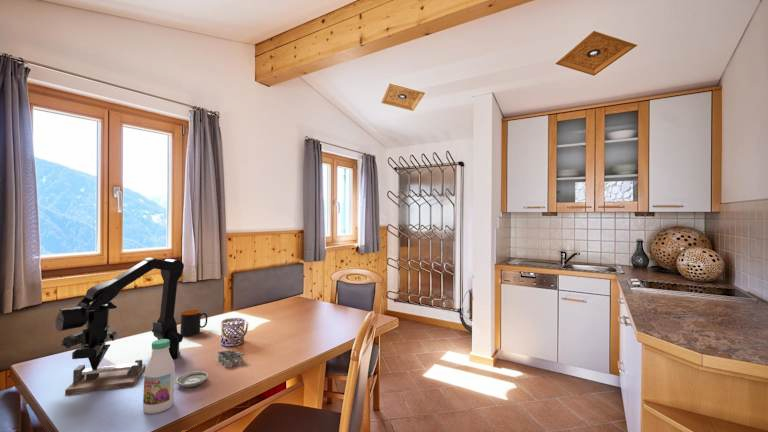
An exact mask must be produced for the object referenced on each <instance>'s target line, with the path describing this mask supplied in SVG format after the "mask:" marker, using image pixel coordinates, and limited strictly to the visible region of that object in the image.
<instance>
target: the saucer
mask: <svg viewBox="0 0 768 432" xmlns="http://www.w3.org/2000/svg"><path fill="white" fill-rule="evenodd" d="M208 377H209V373H208V372H206V371H201V370H196V371H195V370H194V371H188V372H185V373H182V374H181V375H180V376H178V377H176V379H175V383H176V384H177V385H179V386H180V387H183V388H193V387H197V386H199V385H200V384H203V382H205V381H206V380H207V379H208Z"/></svg>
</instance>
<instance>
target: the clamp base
mask: <svg viewBox="0 0 768 432" xmlns="http://www.w3.org/2000/svg"><path fill="white" fill-rule="evenodd" d="M137 362H140V365H132V366H131V369H130V370H121V371H112V372H103V373H94V374H85V375H82V371H83V370H84V369H85V368H86V364H80V365H79V364H78V366H76V367H75V369H74V370H73V373H72V376H73V377H72V383H71V384H69V386H68V387H67V388H65V390H64V394H65V395H72V394H80V393H88V392H89V393H90V392H95V391H103V390H104V391H105V390H111V389H113V390H114V389H120V388H121V389H122V388H127V387H133V386H135V384H136V383H137V381H138V379H139V378H140V377H141V376H142V374H143V372H145V369H146V366H147V363H143V359H136V360H135V361H134V363H137Z"/></svg>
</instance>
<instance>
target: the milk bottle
mask: <svg viewBox="0 0 768 432" xmlns="http://www.w3.org/2000/svg"><path fill="white" fill-rule="evenodd" d="M169 347H170V340H169V339H160V340H158V339H156V340H153V341H152V343H151V352H152V353H151V356H150V357H149V360H148V362H147V363H146V368H145V370H144V374H143V375H144V378H143V396H142V397H143V398H142V399H143V401H142V411H143V412H144V413H145V414H148V415H149V414H150V415H154V414H160V413H162V412H163V413H164V412H165V411H168V410H169V409H171V408H172V406H173V405H174V404H175V403H174V401H175V400H174V398H175V380H176V379H175V377H176V375H175V374H176V373H175V370H176V369H175V367H176V366H175V362H174V359H172V357H171V355H170V353H169Z"/></svg>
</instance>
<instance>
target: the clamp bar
mask: <svg viewBox="0 0 768 432" xmlns="http://www.w3.org/2000/svg"><path fill="white" fill-rule="evenodd" d="M132 365H140V362H137V363H135V362H131V363H120V364H113V365H112V364H111V365H103V366H102V365H101V366H98V368H97V369H94V370H92V367H85V369H84V370H83V371H82V375H85V374H94V373H103V372H112V371H121V370H130V369H131V366H132Z"/></svg>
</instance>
